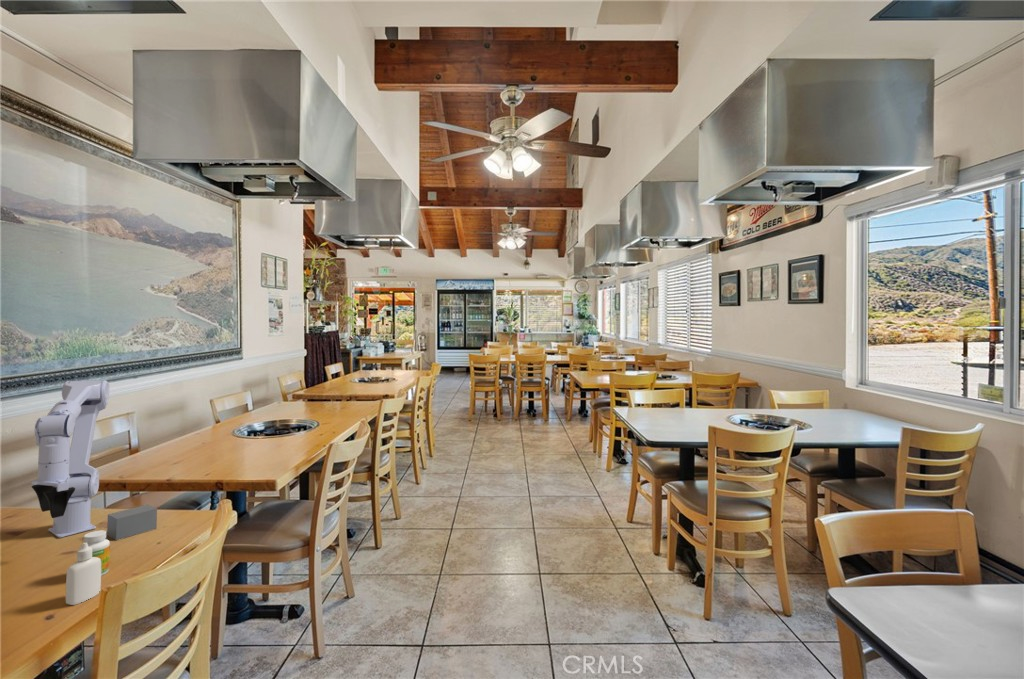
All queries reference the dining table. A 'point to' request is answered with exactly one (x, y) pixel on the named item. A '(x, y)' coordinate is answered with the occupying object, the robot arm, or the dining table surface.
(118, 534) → the gray block
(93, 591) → the eye dropper bottle
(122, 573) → the dining table surface
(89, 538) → the supplement bottle
